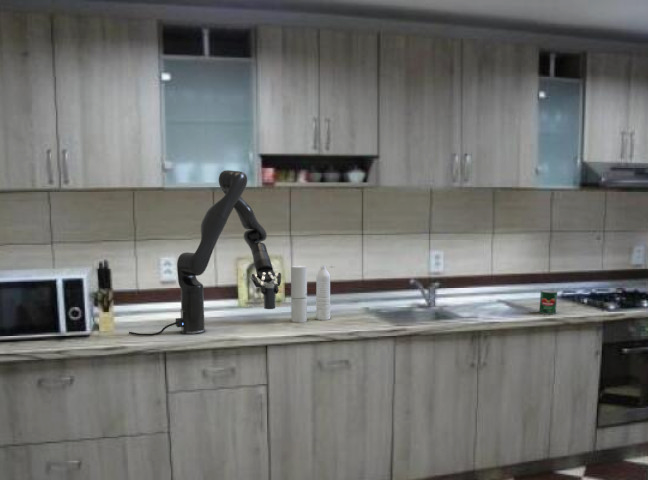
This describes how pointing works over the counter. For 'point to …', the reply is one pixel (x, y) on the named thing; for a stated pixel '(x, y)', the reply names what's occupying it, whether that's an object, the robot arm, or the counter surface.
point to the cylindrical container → (298, 293)
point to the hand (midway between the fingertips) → (270, 293)
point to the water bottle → (323, 294)
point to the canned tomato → (548, 302)
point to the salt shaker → (269, 296)
